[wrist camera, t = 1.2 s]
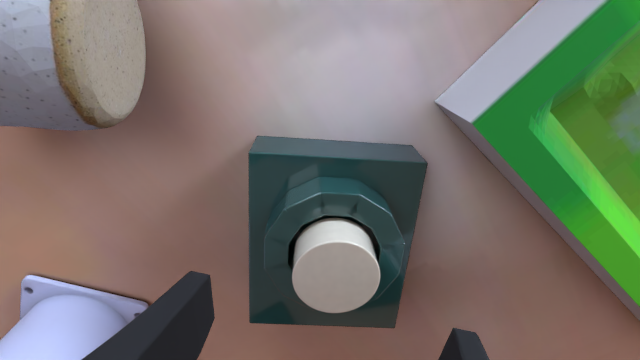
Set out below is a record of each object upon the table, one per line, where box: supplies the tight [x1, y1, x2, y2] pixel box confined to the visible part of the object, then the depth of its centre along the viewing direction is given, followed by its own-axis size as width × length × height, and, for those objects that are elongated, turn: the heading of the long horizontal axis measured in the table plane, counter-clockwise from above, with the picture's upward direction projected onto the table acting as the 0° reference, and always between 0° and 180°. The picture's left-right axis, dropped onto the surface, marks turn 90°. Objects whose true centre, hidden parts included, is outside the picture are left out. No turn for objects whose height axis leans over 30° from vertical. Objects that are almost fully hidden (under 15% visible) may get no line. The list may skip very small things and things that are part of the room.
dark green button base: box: [249, 136, 427, 328], centre depth 20 cm, size 11×9×5 cm
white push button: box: [292, 218, 380, 313], centre depth 17 cm, size 4×4×2 cm
